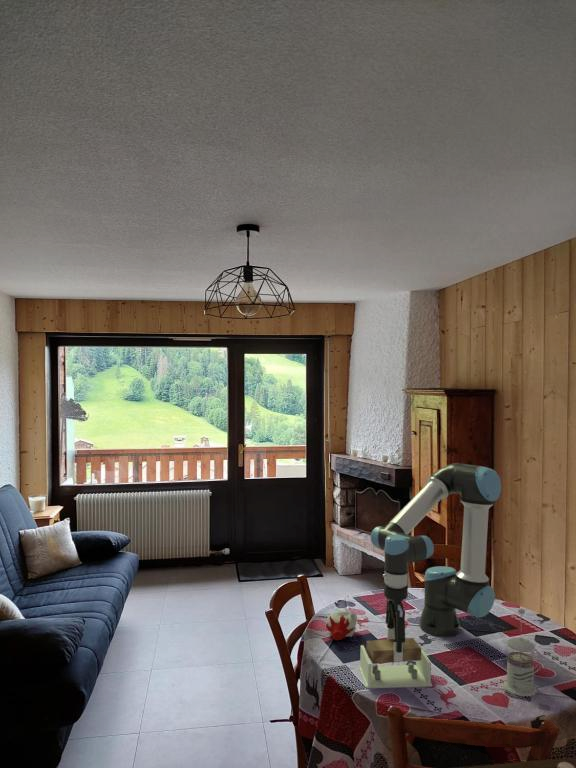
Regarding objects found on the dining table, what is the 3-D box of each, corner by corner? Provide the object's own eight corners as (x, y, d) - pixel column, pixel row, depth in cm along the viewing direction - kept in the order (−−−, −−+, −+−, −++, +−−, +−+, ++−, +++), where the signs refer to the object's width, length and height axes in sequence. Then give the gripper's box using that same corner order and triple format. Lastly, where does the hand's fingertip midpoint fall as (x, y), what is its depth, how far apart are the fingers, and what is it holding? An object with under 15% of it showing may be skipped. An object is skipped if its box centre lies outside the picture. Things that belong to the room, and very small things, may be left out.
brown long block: (373, 663, 174) (373, 651, 174) (366, 653, 181) (366, 640, 181) (421, 660, 177) (421, 647, 177) (412, 649, 184) (413, 637, 184)
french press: (497, 679, 178) (499, 602, 178) (532, 678, 179) (533, 601, 179) (512, 697, 168) (514, 615, 168) (549, 695, 169) (550, 615, 169)
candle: (357, 627, 213) (353, 651, 198) (328, 624, 215) (322, 647, 200) (357, 606, 211) (354, 628, 197) (328, 603, 214) (322, 624, 199)
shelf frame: (420, 666, 186) (420, 644, 186) (432, 686, 174) (432, 662, 174) (358, 668, 184) (359, 645, 184) (366, 688, 172) (366, 664, 172)
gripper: (377, 573, 188) (376, 640, 189) (392, 596, 168) (391, 671, 169) (398, 573, 189) (397, 639, 189) (416, 596, 169) (415, 670, 169)
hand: (394, 654), depth 179 cm, fingers closed on brown long block, 7 cm apart
